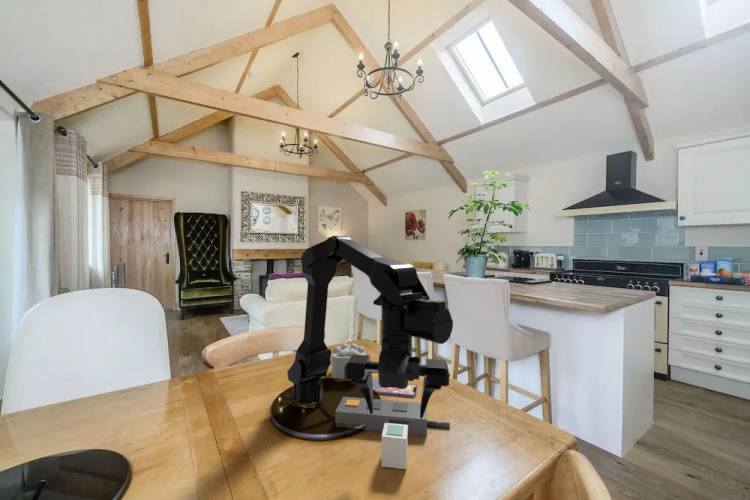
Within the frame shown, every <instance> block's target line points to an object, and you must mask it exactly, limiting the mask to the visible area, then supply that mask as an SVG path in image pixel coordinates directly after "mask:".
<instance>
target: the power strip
mask: <svg viewBox="0 0 750 500" xmlns="http://www.w3.org/2000/svg"><path fill="white" fill-rule="evenodd" d="M420 405H421V402H415V401H414V402H413V401H403V400H402V401H401V400H391V399H389V400H388V399H378V398H374V409H373V414H370V411H369V408H368V405H367V402H366V400H365V397H353V396H351V397H350V396H342V398H341V400H340V402H339V404H338V406H337V408H336V409H335V416H334V417H335V421H334V422H335V423H344V424H347V423H348V424H366V428H365V429H364V430H363V431H371V432H382V433H383V428H384V424H385V423H393V424H403V425H408V435H412V436H413V435H415V436H424V437H428V427H437V428H447V429H448V428H449V429H450V428H451V423H450V422H446V421H434V420H428V406H427V407H426V409H425V412H424V415H423V418H420ZM335 423H334V424H335Z"/></svg>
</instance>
